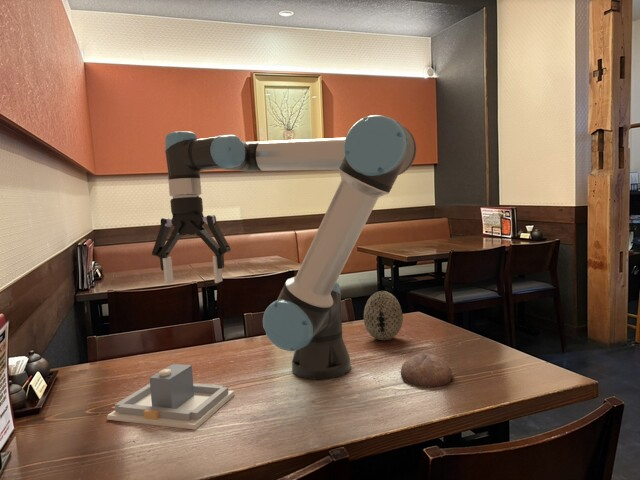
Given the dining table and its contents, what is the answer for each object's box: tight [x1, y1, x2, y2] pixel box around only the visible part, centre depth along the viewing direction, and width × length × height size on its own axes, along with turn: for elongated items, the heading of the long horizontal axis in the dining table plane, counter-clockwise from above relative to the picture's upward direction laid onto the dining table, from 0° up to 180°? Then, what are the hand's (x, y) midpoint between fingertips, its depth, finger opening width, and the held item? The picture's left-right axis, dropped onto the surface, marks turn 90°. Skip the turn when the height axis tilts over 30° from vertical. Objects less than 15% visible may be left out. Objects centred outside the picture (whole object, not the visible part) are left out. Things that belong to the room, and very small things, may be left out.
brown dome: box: [400, 353, 453, 388], centre depth 108 cm, size 12×12×6 cm
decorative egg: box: [363, 290, 404, 341], centre depth 137 cm, size 12×12×15 cm
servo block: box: [149, 363, 194, 409], centre depth 99 cm, size 5×8×8 cm, turn 163°
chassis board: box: [106, 382, 235, 431], centre depth 99 cm, size 21×16×2 cm
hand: (193, 282), depth 113 cm, fingers open, 13 cm apart
